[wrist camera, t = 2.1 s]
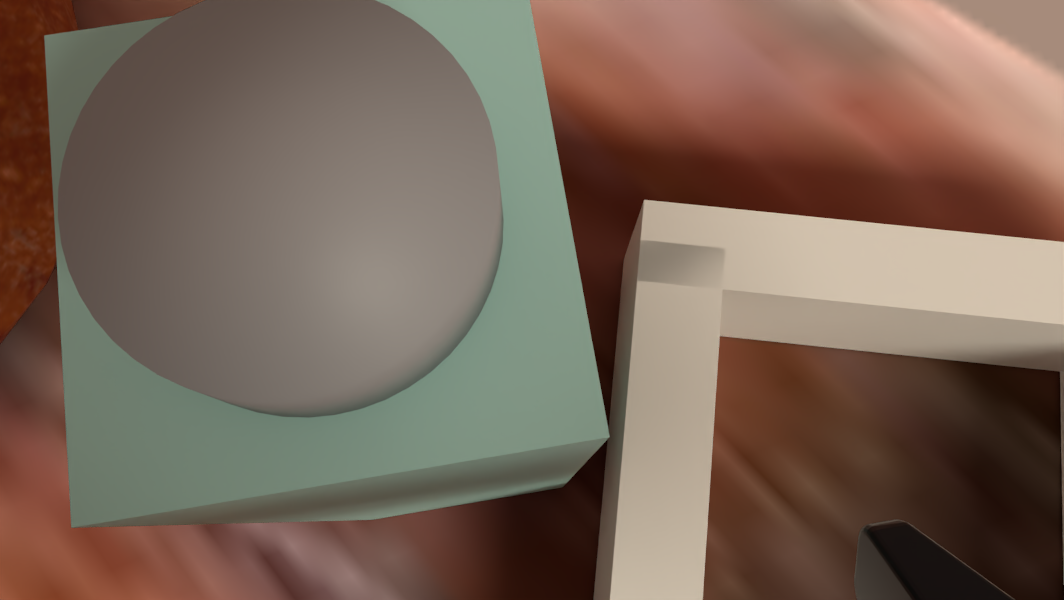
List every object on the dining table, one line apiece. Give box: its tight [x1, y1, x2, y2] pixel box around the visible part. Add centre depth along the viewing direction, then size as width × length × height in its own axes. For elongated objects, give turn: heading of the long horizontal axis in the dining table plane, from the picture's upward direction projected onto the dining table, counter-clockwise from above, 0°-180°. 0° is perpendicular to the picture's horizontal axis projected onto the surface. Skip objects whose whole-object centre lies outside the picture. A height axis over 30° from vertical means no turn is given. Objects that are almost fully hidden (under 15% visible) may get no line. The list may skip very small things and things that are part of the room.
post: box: [44, 0, 610, 528], centre depth 13 cm, size 4×4×14 cm
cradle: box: [593, 200, 1064, 600], centre depth 18 cm, size 10×11×4 cm
